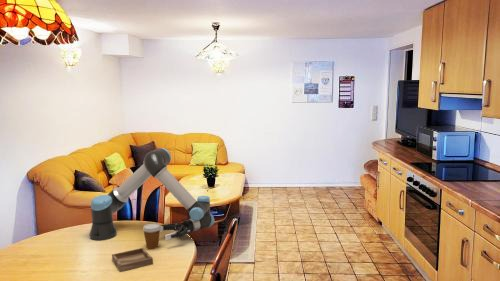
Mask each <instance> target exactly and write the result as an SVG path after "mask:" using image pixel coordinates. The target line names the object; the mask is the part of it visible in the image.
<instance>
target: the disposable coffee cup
mask: <svg viewBox="0 0 500 281" xmlns="http://www.w3.org/2000/svg"><path fill="white" fill-rule="evenodd" d="M160 228H161V225H160V224H159V223H148V224H147V223H146V224H145V225H143V228H142V231H143V234H144V240H145V245H146V249H148V250H155V249H158V247H159V241H160V233H161V232H160Z"/></svg>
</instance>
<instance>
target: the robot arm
mask: <svg viewBox="0 0 500 281" xmlns="http://www.w3.org/2000/svg"><path fill="white" fill-rule="evenodd" d="M171 160H172V156H171V153H170V152H169V150H168V149H167V148H164V147H159V148H156V149H154V150H151V151H148V152H147V153H146V155H145V156H144V158H143V164H142V165H141V166H139V167H138V168H137V169H136V170H135V171H134V172H133V173H132V174H131V175H130V176H129V177H128V178H127V179H126V180H125V181H124V182H123V183H121V185H119V187H114V188H113V189H112V190H111V191H110V192H109V193H108V194H99V195H97V196H95V197H93V198H92V199H91V201H90V210H91V228H90V231H89V239H91V240H94V241H102V240H103V241H105V240H109V239H112V238H115V237H116V236H117V235H118V231H117V228H116V226H115V223H114V217H113V215H114V213H116V212H118V211H119V210H121V209H123V207H125V205H126V204H127V203H128V202H129V197H130V196H132V195H133V193H135V192H136V191H137V190H138V189H139V188H140V187H141V186H142V185H143V184H144V183H145V182H147V181H148V180H149V179H150V178H151V177H153V178H154V179H157V180H158V181H159V182H160V183H161V185H163V186H164V187H165V189H166V190H167V191H169V193H170V194H171V195H172V196H173V197H174V198H175V199H176V200H177V201H178V203H180V204H181V205H182V206H183V207H184V208H185V210H186V211H187V212H188V214H189V219H185V220H183V221H182V223H179V222H175V223H166V224H165V223H164V224H161V225H160V227H161V228H160V233H161V232H164V231H173V232H171V233H168V234H165V235H164V241H168V240H171V239H175V238H179V239H182V238H183V237H184V236H186V235H188V234H190V233H192V232H196V231H199V230H203V229H207V228H210V227H212V226H213V225H215V217H214V215H213V214H212V213H211V201H210V197H209V196H208V195H199V196H197V197H196V198H197V199H195V197H193V195H192V194H191V193H190V192H189V191H188V190H187V189H186V188H185V187H184V186H183V185H182V184H181V182H179V181H178V179H177V178H176V177H175V176H174V175H173V174H172V173H171V172H170V171H169V170H168V166H169V164H170V163H171Z"/></svg>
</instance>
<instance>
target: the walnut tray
mask: <svg viewBox="0 0 500 281" xmlns="http://www.w3.org/2000/svg"><path fill="white" fill-rule="evenodd" d="M153 259H154V258H153V257H152V256H151V255H150V253H149V252H148V251H147V250H146V249H145V248H144V247H141V248H135V249H130V250H126V251H122V252H117V253H114V254H111V260H112V262H113V263H114V265H115V266H116V268H117V270H118V271H119V272H120V273H123V272H125V271H130V270H134V269H138V268H142V267H147V266H151V265H154V260H153Z"/></svg>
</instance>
